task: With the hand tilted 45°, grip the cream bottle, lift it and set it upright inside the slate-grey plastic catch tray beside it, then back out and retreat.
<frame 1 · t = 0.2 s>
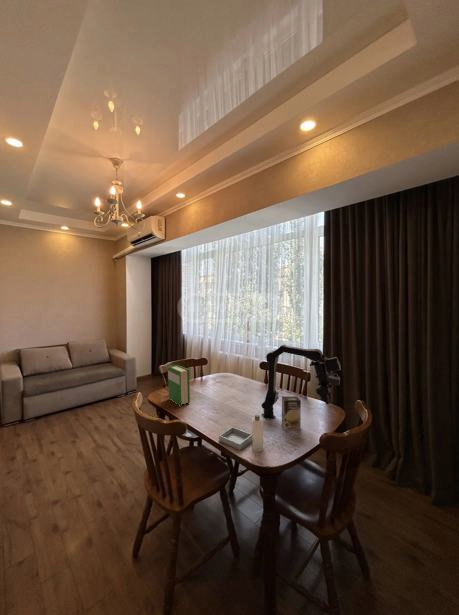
hand: (329, 401, 135), 15 cm above the table, tool pointing down, fingers open, 9 cm apart
hardback book: (179, 401, 176), on the table
catch tray: (236, 440, 126), on the table
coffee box: (291, 427, 139), on the table
cream bottle: (257, 448, 119), on the table
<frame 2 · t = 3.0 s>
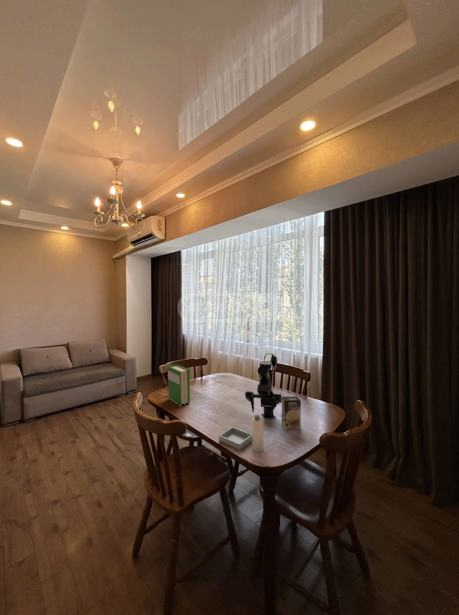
hand: (261, 413, 126), 14 cm above the table, tool tilted 45°, fingers open, 9 cm apart
nothing on the table moved.
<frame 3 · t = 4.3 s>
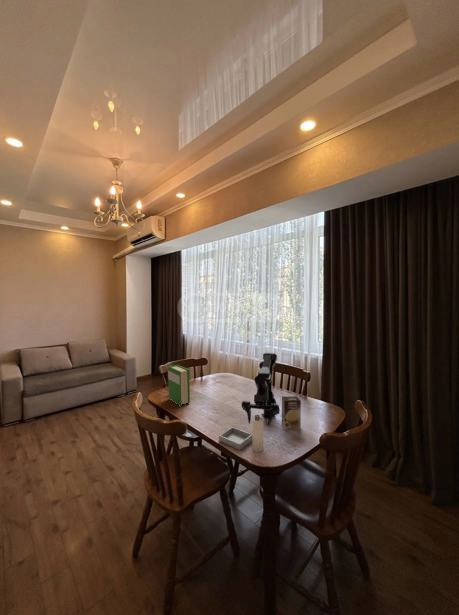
hand: (258, 424, 121), 10 cm above the table, tool tilted 45°, fingers open, 9 cm apart
nothing on the table moved.
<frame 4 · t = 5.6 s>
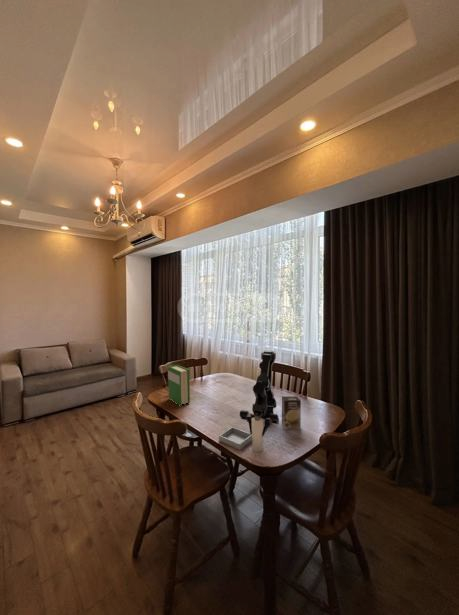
hand: (256, 435, 118), 7 cm above the table, tool tilted 45°, fingers closed on cream bottle, 5 cm apart
cream bottle: (257, 448, 119), on the table, touching gripper
everything else where it was.
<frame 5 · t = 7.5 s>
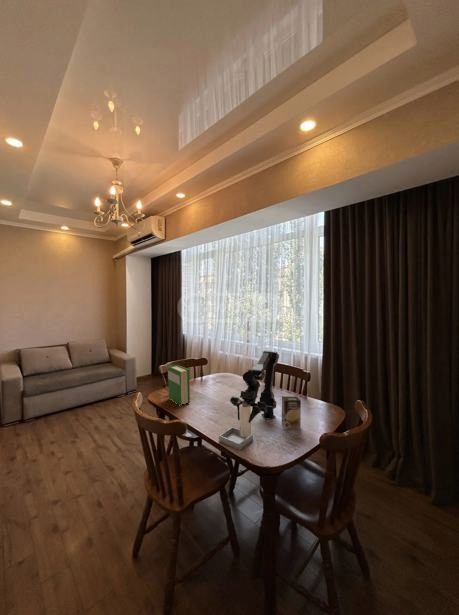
hand: (243, 421, 121), 12 cm above the table, tool tilted 45°, fingers closed on cream bottle, 5 cm apart
cream bottle: (245, 434, 122), point 5 cm above the table, touching gripper
everything else where it was.
when the fingers open (9 cm above the table, at t = 9.2 s): cream bottle drops 1 cm, resting on catch tray.
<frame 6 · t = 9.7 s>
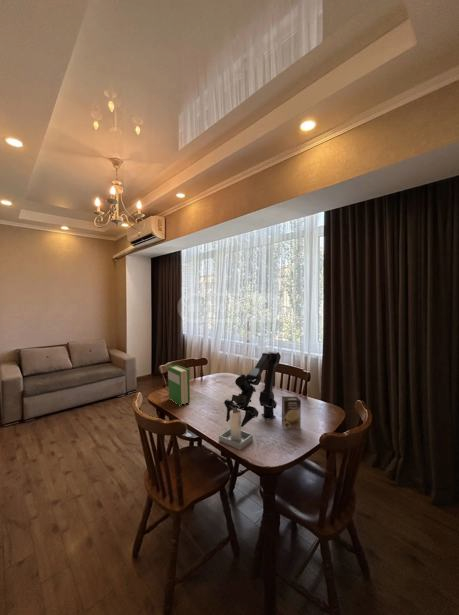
hand: (234, 424, 124), 9 cm above the table, tool tilted 45°, fingers open, 9 cm apart
cream bottle: (236, 439, 126), point 1 cm above the table, touching catch tray
everything else where it was.
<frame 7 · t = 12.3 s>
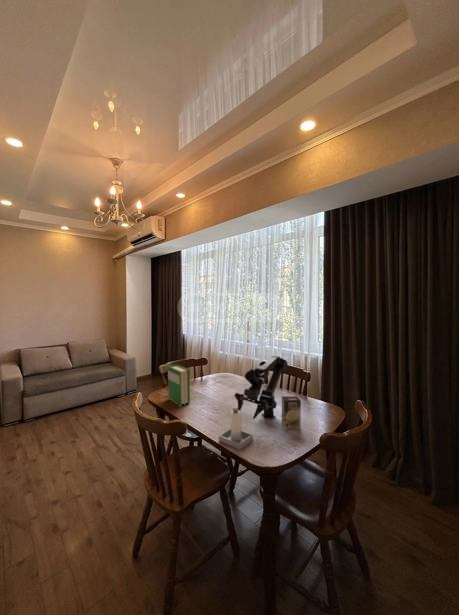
hand: (245, 416, 132), 9 cm above the table, tool tilted 40°, fingers open, 9 cm apart
nothing on the table moved.
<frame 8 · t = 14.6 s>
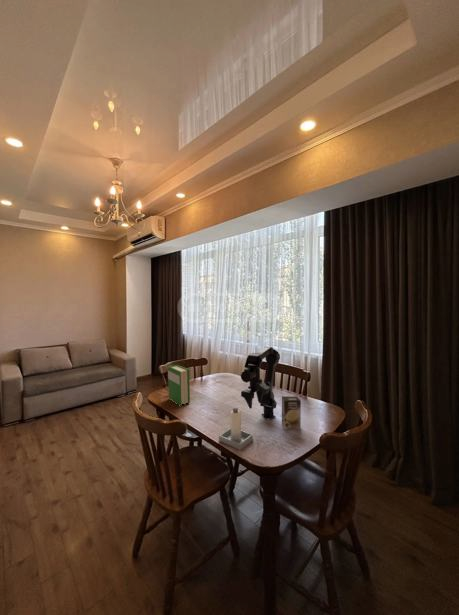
hand: (255, 405, 137), 13 cm above the table, tool pointing down, fingers open, 9 cm apart
nothing on the table moved.
at the end: cream bottle inside the target area on the catch tray (0.1 cm from its centre), point 0.6 cm above the catch tray's base; cream bottle tilted 1°; the gripper is holding nothing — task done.
